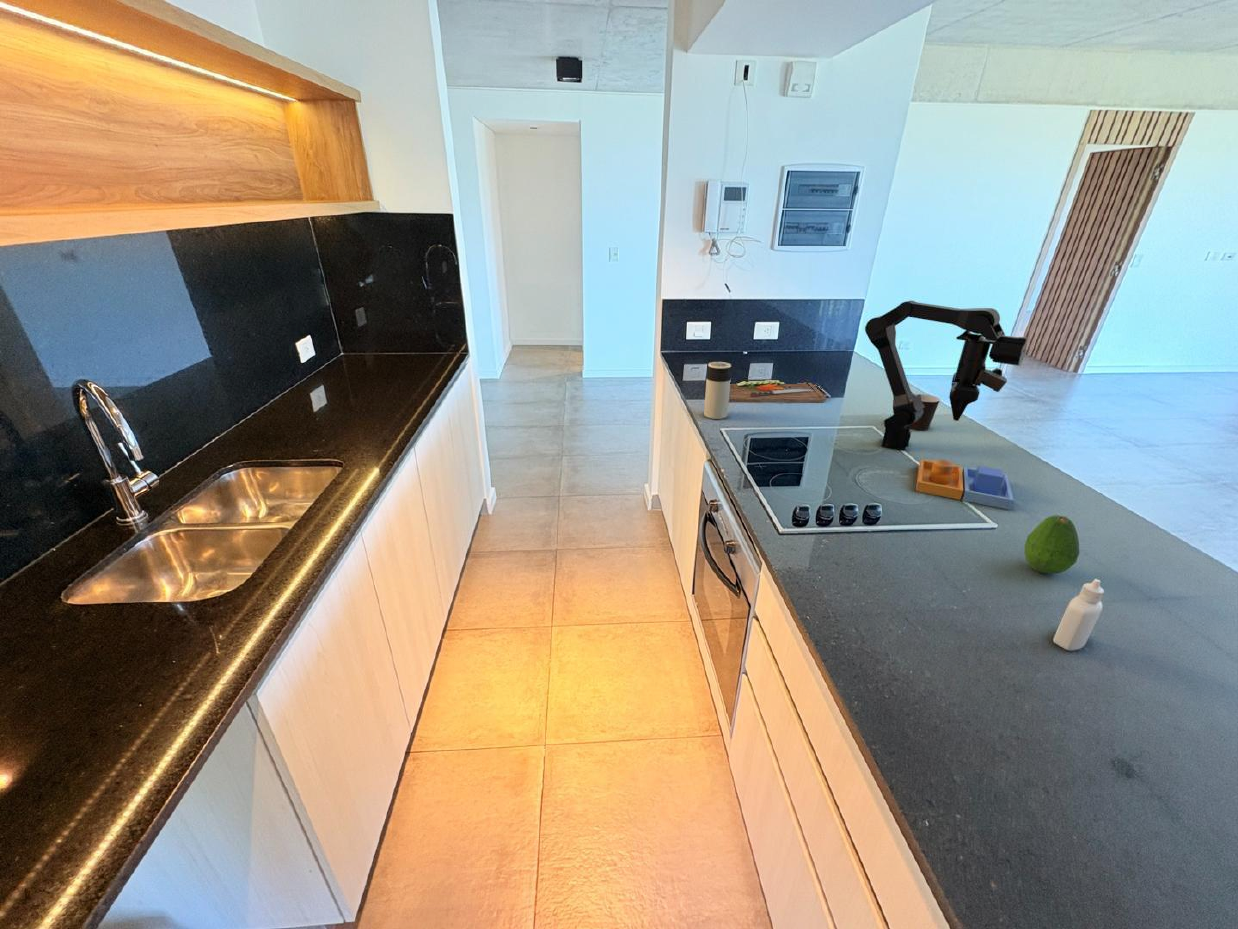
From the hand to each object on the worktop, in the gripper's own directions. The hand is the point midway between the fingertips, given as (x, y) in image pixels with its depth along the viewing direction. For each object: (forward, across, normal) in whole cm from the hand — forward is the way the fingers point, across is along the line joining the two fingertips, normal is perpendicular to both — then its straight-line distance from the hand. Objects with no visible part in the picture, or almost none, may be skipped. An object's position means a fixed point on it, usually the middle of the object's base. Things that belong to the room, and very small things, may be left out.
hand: (956, 415), depth 144 cm
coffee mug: (+13, +26, +9) cm, 30 cm away
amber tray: (+13, -18, 0) cm, 22 cm away
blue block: (+12, -18, -10) cm, 24 cm away
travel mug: (+14, 0, +69) cm, 70 cm away
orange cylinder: (+12, -18, 0) cm, 22 cm away
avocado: (+13, -50, -19) cm, 55 cm away
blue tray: (+13, -18, -10) cm, 24 cm away
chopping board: (+14, +37, +63) cm, 74 cm away
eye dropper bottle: (+13, -71, -21) cm, 75 cm away
